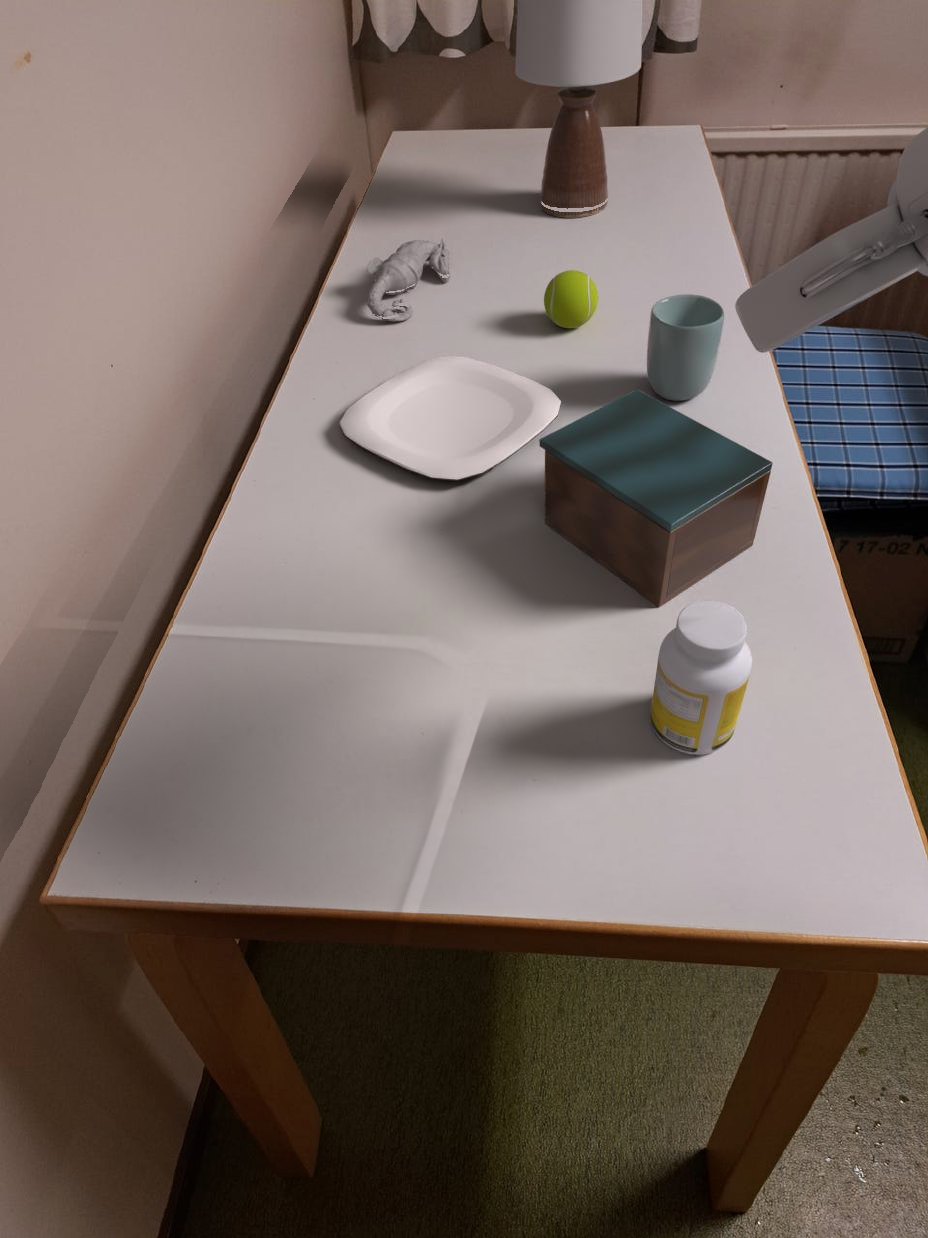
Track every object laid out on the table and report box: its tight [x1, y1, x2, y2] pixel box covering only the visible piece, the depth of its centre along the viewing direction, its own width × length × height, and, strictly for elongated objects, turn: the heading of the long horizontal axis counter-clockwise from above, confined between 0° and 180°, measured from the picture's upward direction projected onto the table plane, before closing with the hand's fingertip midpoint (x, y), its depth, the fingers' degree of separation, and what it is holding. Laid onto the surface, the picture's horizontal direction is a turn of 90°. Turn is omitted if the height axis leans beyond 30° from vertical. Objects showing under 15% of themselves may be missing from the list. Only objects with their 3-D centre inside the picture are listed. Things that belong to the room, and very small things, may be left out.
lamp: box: [514, 0, 643, 219], centre depth 125 cm, size 19×19×37 cm
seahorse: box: [365, 238, 451, 323], centre depth 119 cm, size 5×12×20 cm
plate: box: [339, 355, 562, 482], centre depth 96 cm, size 22×22×2 cm
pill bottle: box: [650, 599, 753, 755], centre depth 62 cm, size 6×6×12 cm
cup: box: [646, 293, 725, 402], centre depth 95 cm, size 8×8×10 cm
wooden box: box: [544, 450, 772, 608], centre depth 78 cm, size 16×13×9 cm
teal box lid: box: [538, 388, 774, 532], centre depth 75 cm, size 16×13×1 cm
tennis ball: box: [543, 269, 599, 329], centre depth 109 cm, size 7×7×7 cm
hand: (789, 311), depth 56 cm, fingers closed
